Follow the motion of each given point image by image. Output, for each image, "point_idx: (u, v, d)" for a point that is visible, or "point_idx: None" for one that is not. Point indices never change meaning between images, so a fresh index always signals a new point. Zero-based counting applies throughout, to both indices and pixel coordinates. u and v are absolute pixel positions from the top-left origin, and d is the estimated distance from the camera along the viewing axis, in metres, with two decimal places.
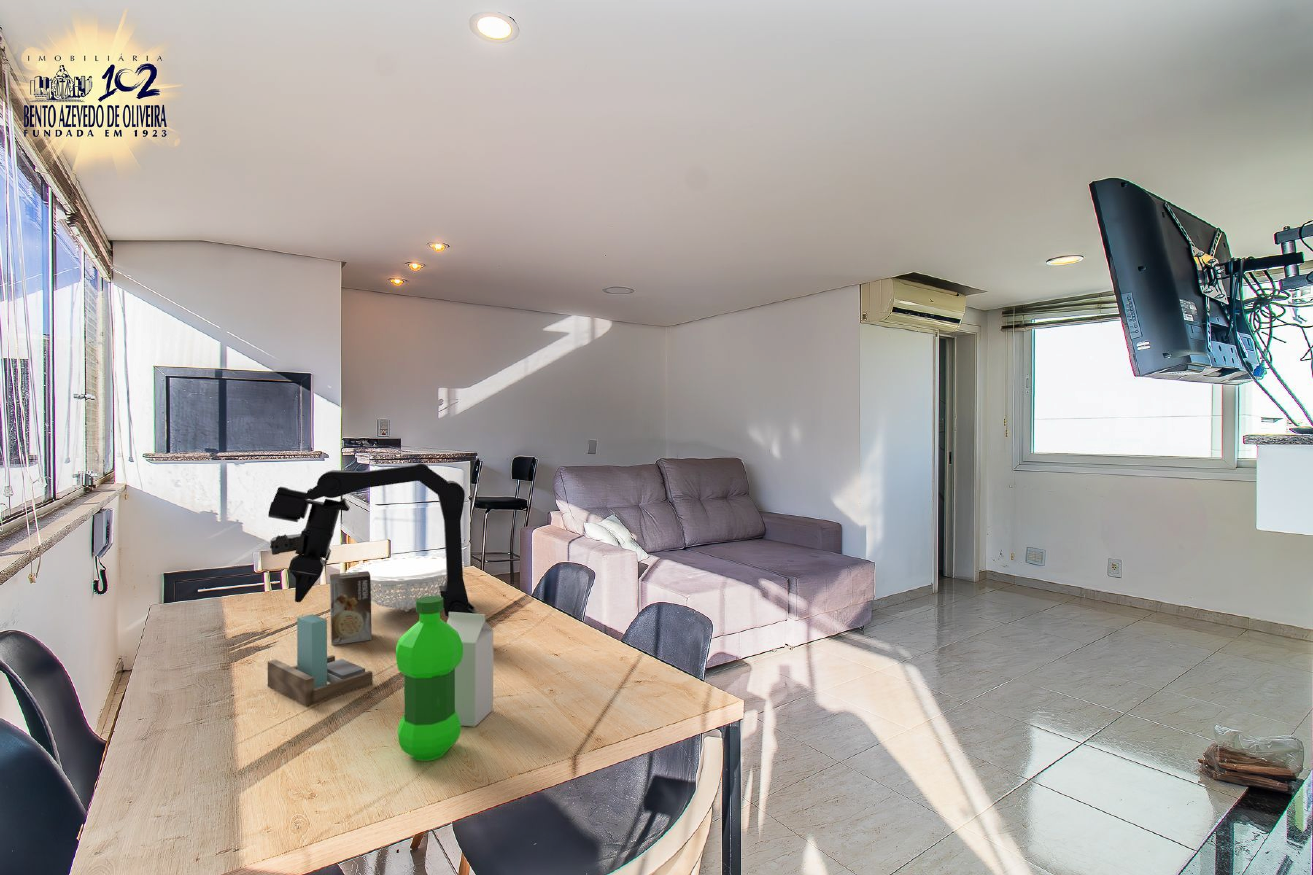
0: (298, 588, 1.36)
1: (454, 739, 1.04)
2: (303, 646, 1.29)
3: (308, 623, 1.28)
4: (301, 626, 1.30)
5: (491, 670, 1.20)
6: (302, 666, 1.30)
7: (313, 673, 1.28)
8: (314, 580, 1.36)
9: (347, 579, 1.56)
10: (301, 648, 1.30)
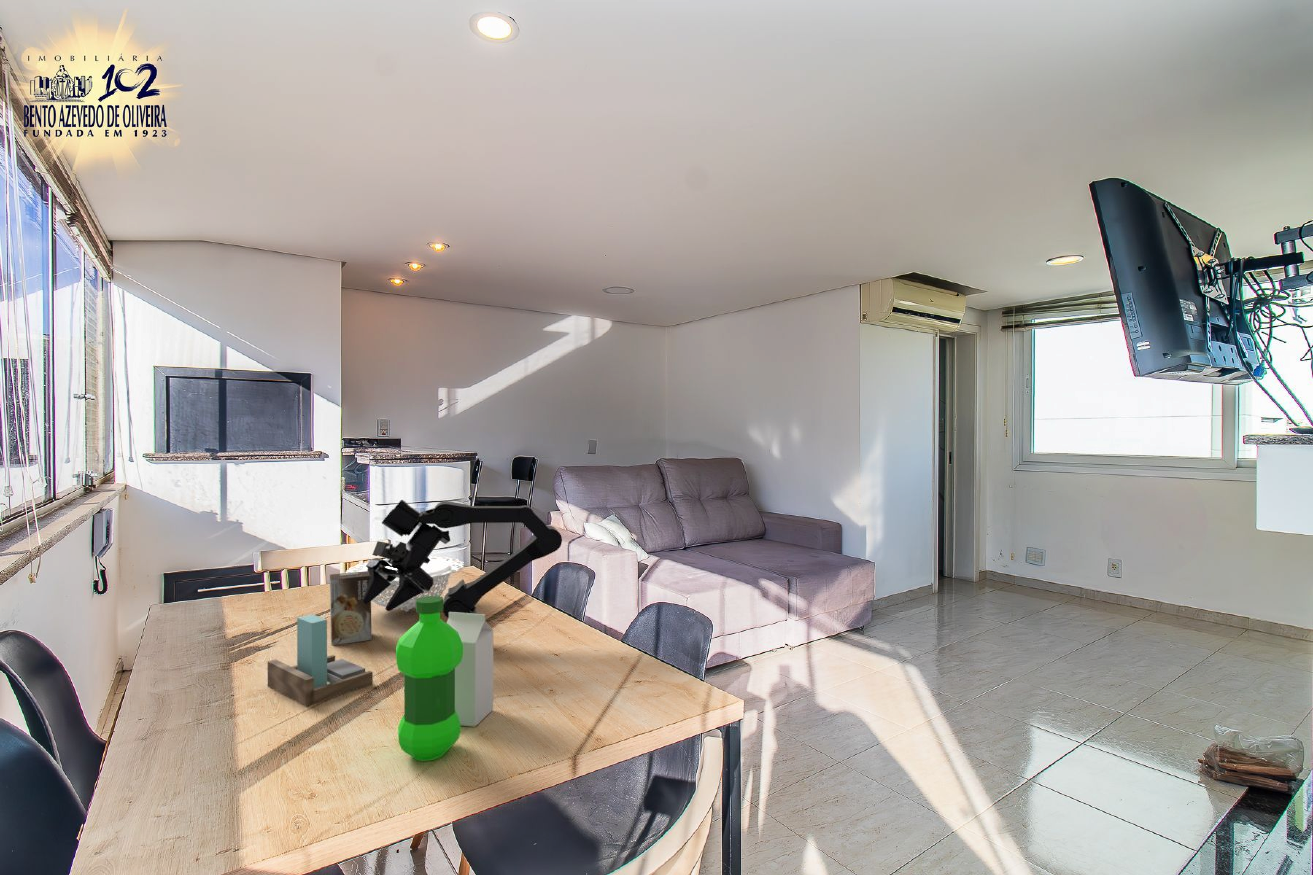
0: (396, 597, 1.39)
1: (454, 739, 1.04)
2: (303, 646, 1.29)
3: (308, 623, 1.28)
4: (301, 626, 1.30)
5: (491, 670, 1.20)
6: (302, 666, 1.30)
7: (313, 673, 1.28)
8: (413, 595, 1.41)
9: (347, 579, 1.56)
10: (301, 648, 1.30)
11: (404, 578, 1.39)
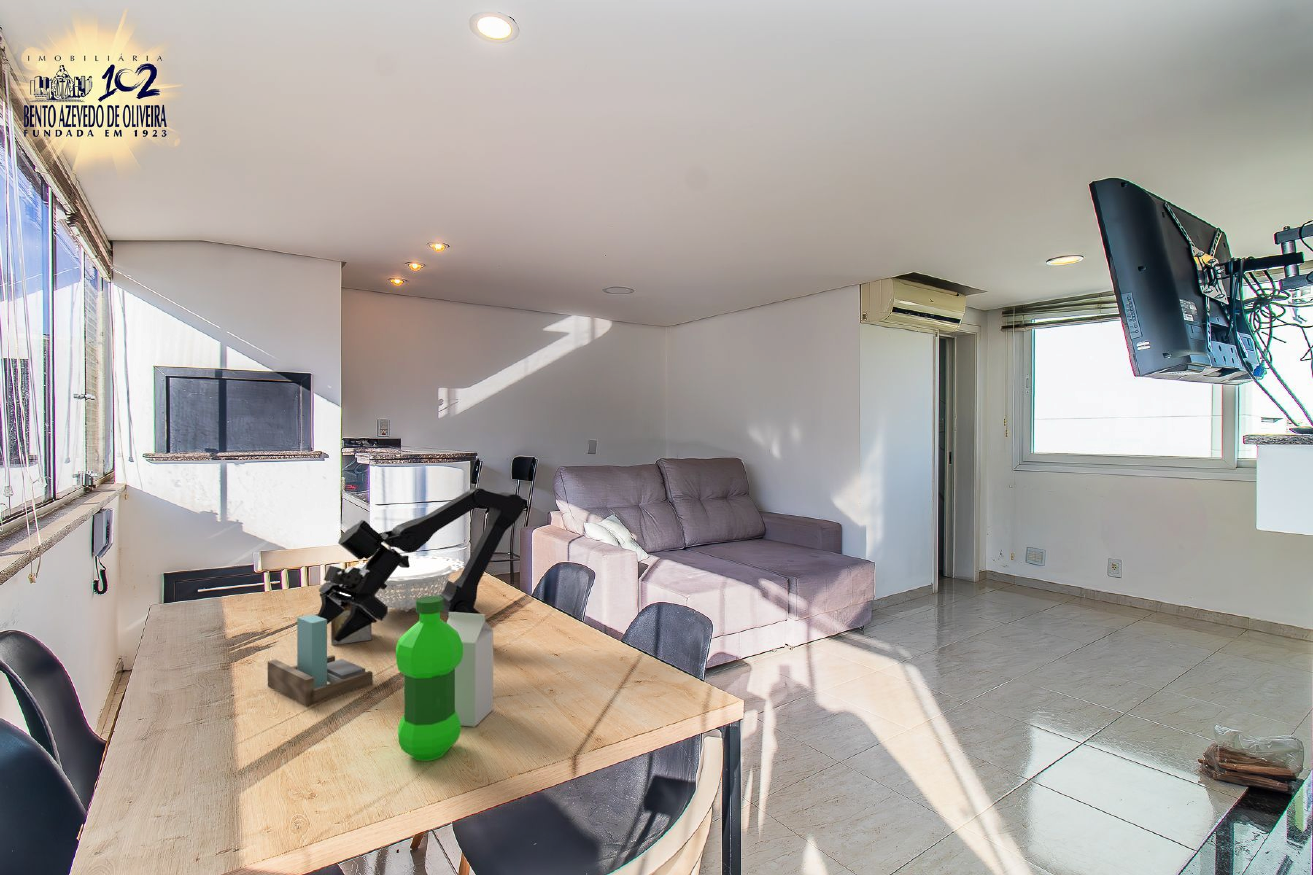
0: (346, 627, 1.30)
1: (454, 739, 1.04)
2: (303, 646, 1.29)
3: (308, 623, 1.28)
4: (301, 626, 1.30)
5: (491, 670, 1.20)
6: (302, 666, 1.30)
7: (313, 673, 1.28)
8: (366, 624, 1.33)
9: None
10: (301, 648, 1.30)
11: (355, 606, 1.30)
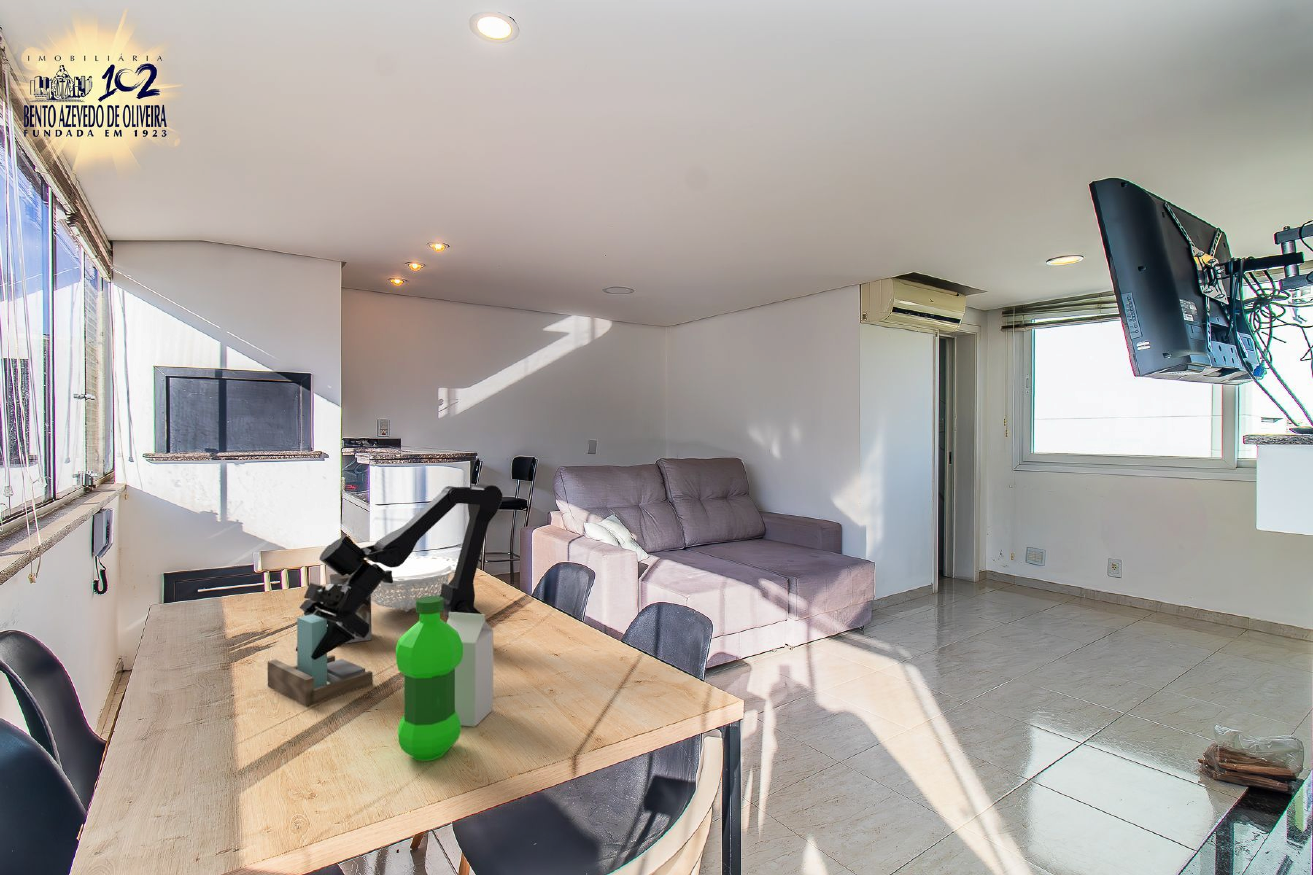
0: (324, 644, 1.28)
1: (454, 739, 1.04)
2: (303, 646, 1.29)
3: (308, 623, 1.28)
4: (301, 626, 1.30)
5: (491, 670, 1.20)
6: (302, 666, 1.30)
7: (313, 673, 1.28)
8: (343, 641, 1.30)
9: (347, 579, 1.56)
10: (301, 648, 1.30)
11: (332, 624, 1.28)
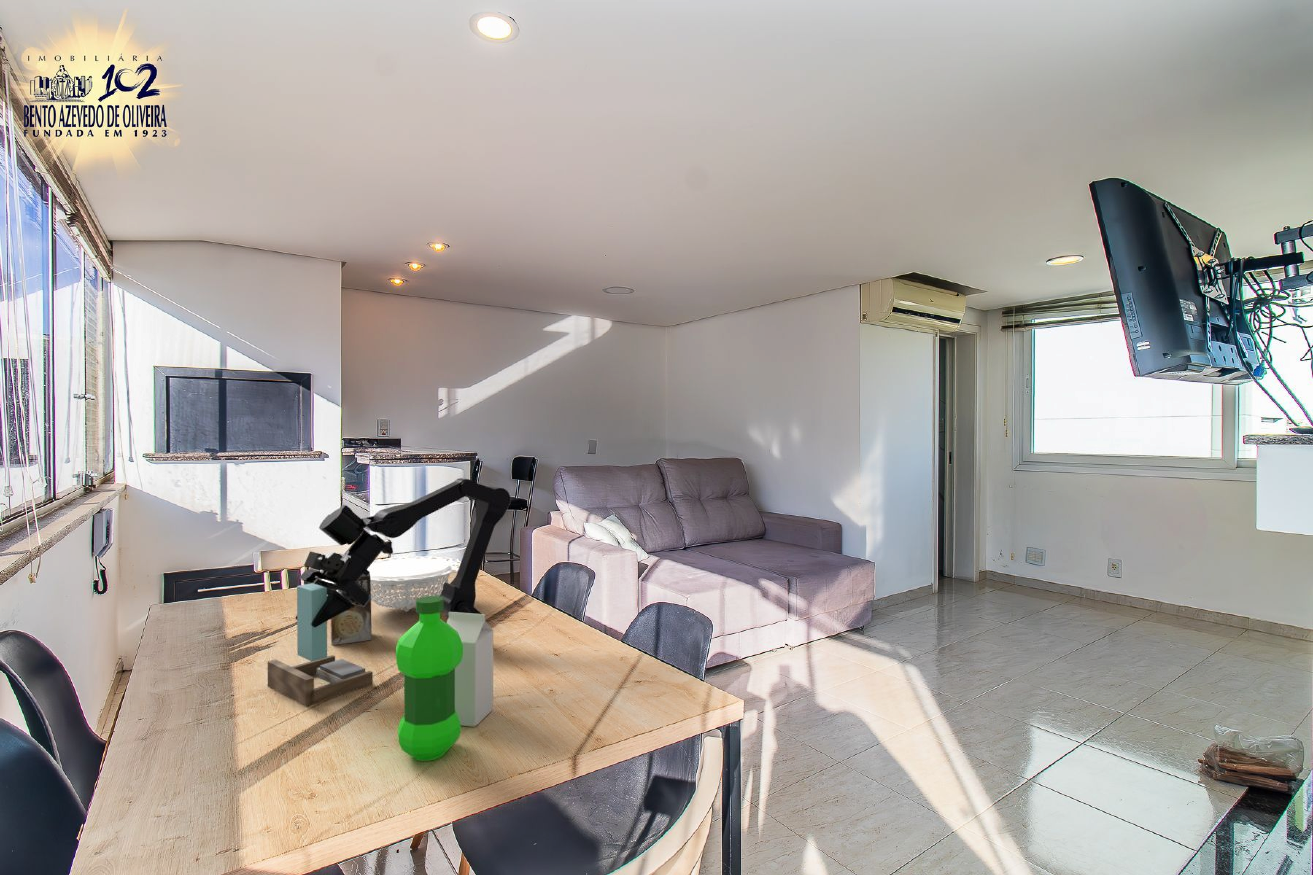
0: (324, 612, 1.28)
1: (454, 739, 1.04)
2: (303, 614, 1.29)
3: (308, 591, 1.28)
4: (301, 594, 1.29)
5: (491, 670, 1.20)
6: (302, 634, 1.29)
7: (313, 641, 1.27)
8: (344, 609, 1.30)
9: None
10: (301, 616, 1.30)
11: (332, 591, 1.28)
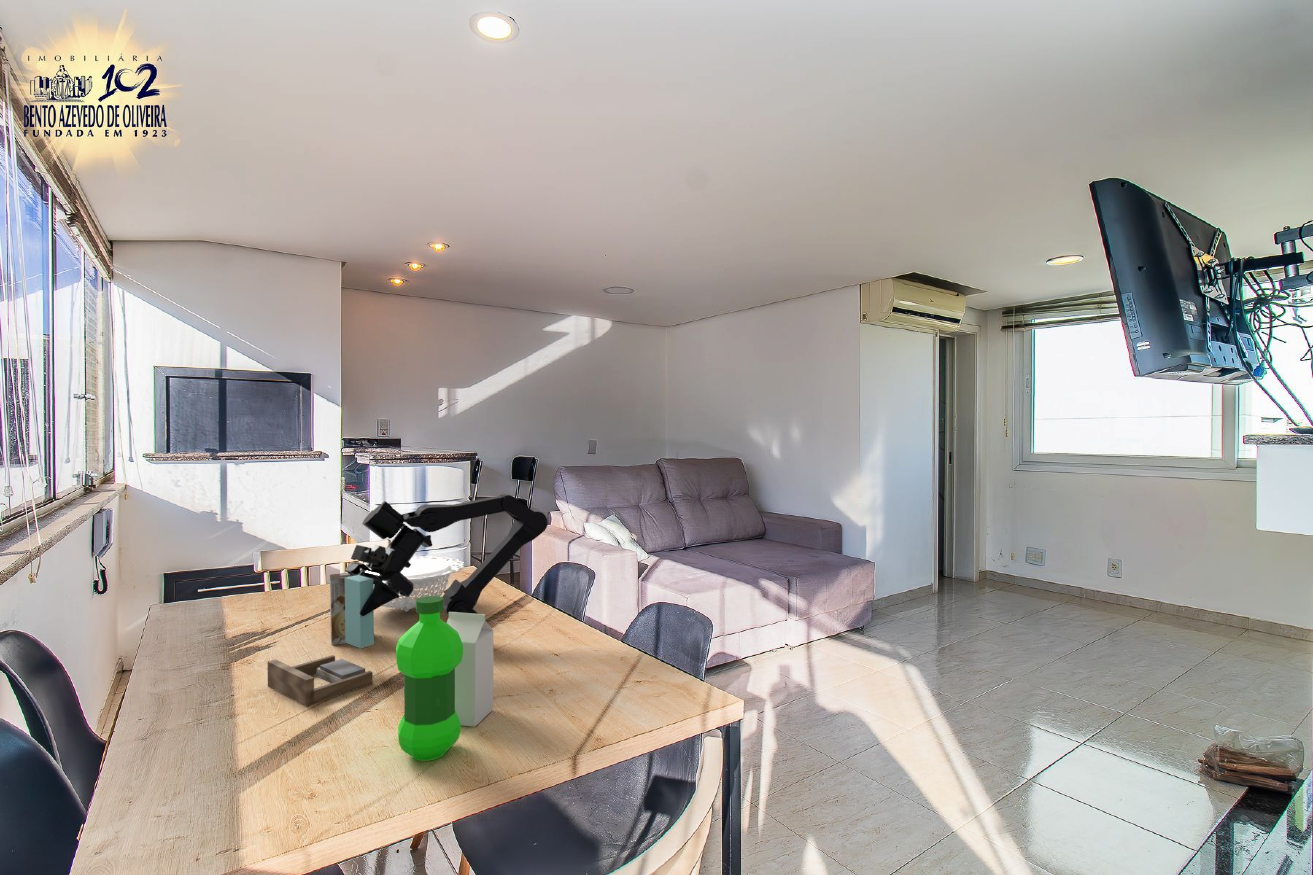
0: (371, 602, 1.36)
1: (454, 739, 1.04)
2: (351, 604, 1.37)
3: (356, 582, 1.36)
4: (349, 585, 1.37)
5: (491, 670, 1.20)
6: (350, 623, 1.37)
7: (361, 629, 1.35)
8: (389, 599, 1.38)
9: None
10: (349, 606, 1.37)
11: (379, 582, 1.36)
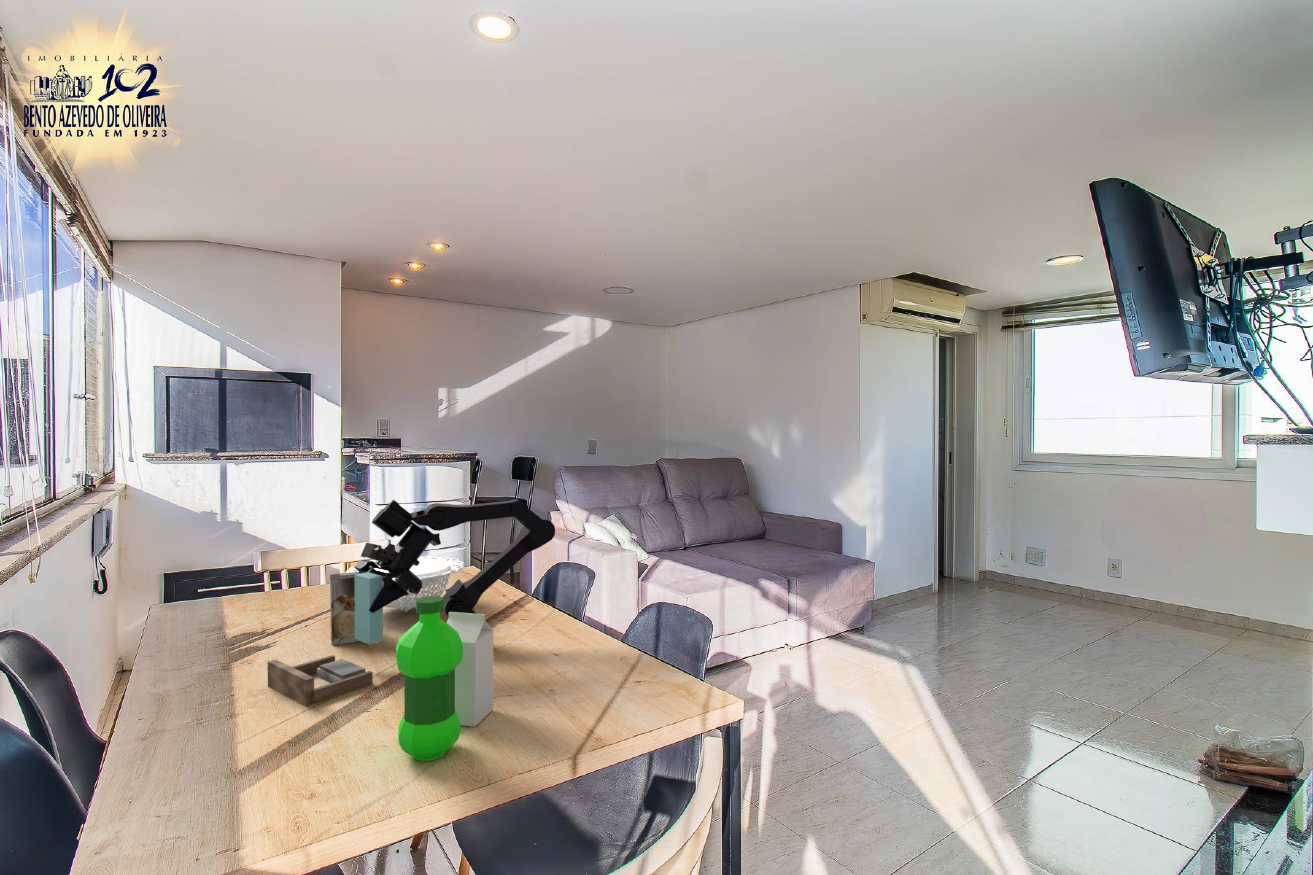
0: (380, 599, 1.37)
1: (454, 739, 1.04)
2: (361, 601, 1.39)
3: (366, 579, 1.37)
4: (359, 582, 1.39)
5: (491, 670, 1.20)
6: (360, 619, 1.39)
7: (371, 625, 1.37)
8: (398, 596, 1.40)
9: (347, 579, 1.56)
10: (359, 602, 1.39)
11: (388, 579, 1.37)
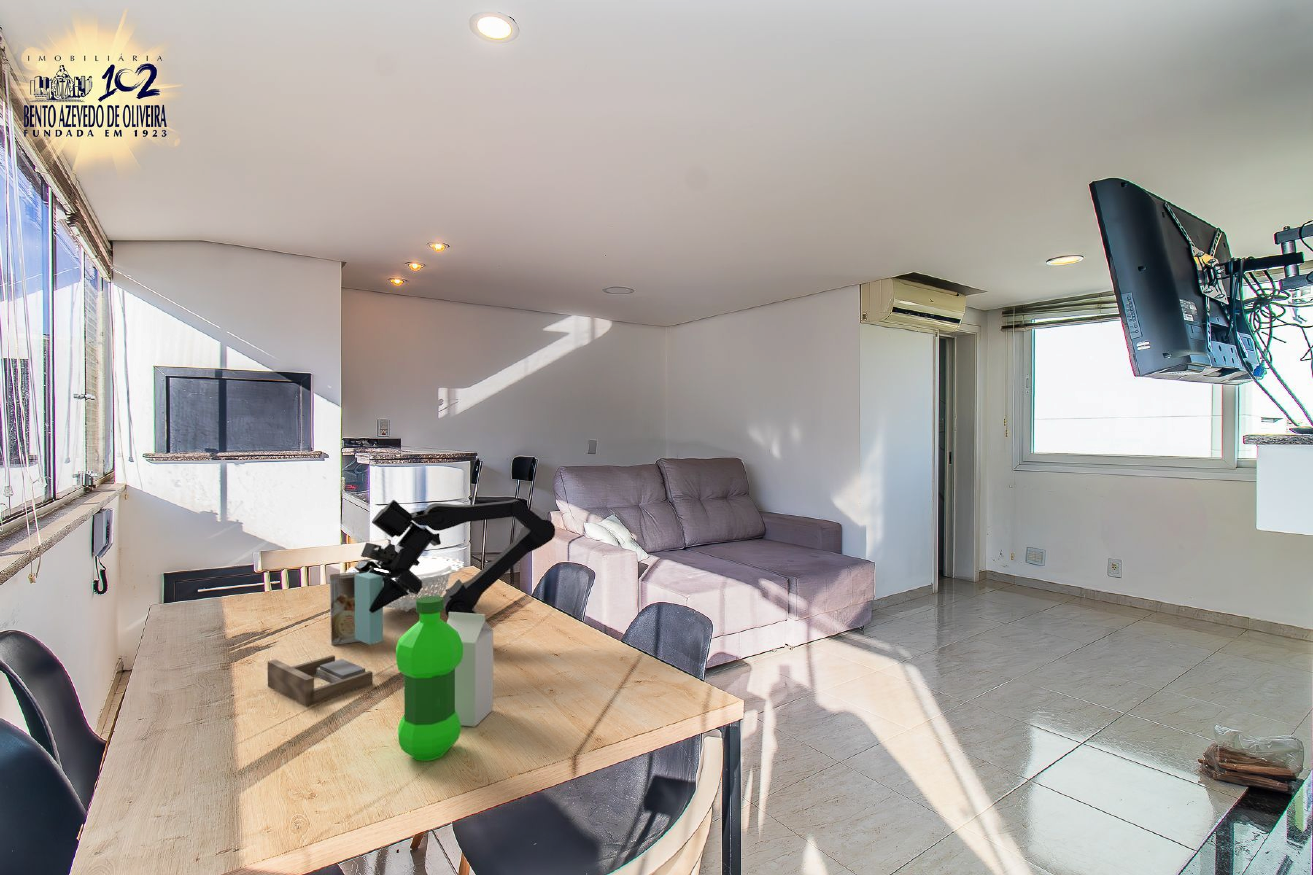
0: (380, 599, 1.37)
1: (454, 739, 1.04)
2: (361, 601, 1.39)
3: (366, 579, 1.37)
4: (359, 582, 1.39)
5: (491, 670, 1.20)
6: (360, 619, 1.39)
7: (371, 625, 1.37)
8: (398, 596, 1.40)
9: (347, 579, 1.56)
10: (359, 602, 1.39)
11: (388, 579, 1.37)
